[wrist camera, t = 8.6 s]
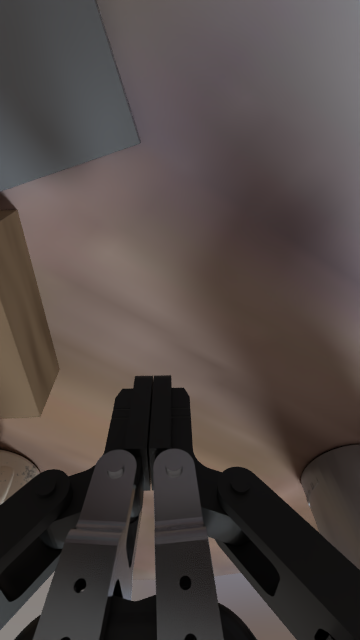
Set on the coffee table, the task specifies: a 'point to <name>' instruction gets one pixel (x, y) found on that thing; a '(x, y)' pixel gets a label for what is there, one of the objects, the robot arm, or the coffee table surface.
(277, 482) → the coffee table surface
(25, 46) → the slate coaster
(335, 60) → the coffee table surface
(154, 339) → the coffee table surface
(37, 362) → the tan rectangular block
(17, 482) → the teacup with lid
